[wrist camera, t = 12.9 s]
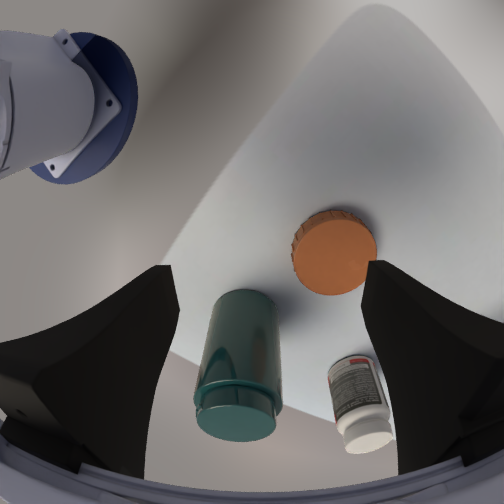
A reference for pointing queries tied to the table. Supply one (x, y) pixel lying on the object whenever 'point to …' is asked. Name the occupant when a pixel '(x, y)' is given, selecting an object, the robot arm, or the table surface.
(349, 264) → the lid
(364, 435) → the pill bottle
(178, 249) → the table surface
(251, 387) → the jar
